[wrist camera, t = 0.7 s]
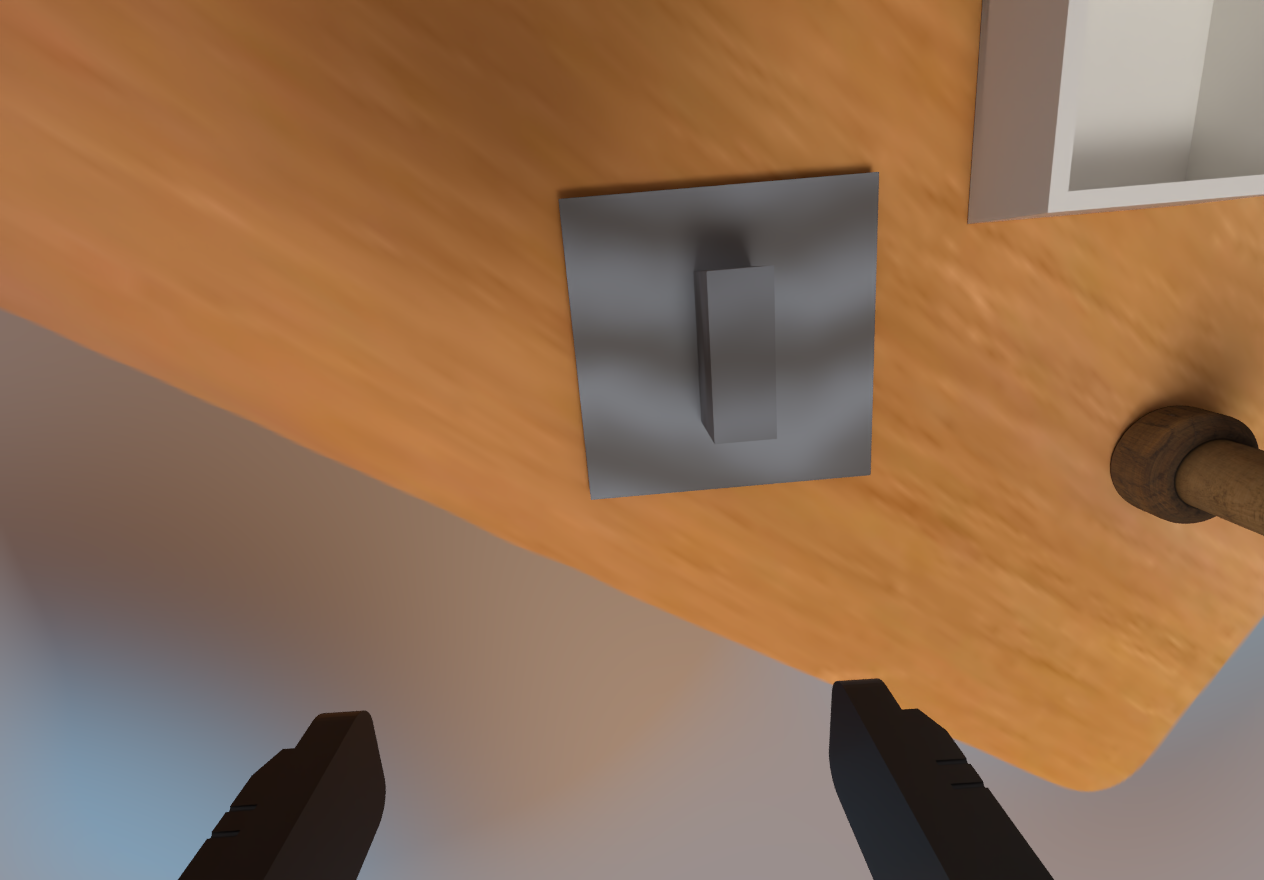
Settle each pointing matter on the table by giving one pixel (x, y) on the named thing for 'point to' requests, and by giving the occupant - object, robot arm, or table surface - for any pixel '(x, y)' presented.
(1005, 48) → the white storage bin
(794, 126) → the table surface
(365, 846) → the robot arm
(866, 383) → the lid
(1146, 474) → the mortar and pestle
